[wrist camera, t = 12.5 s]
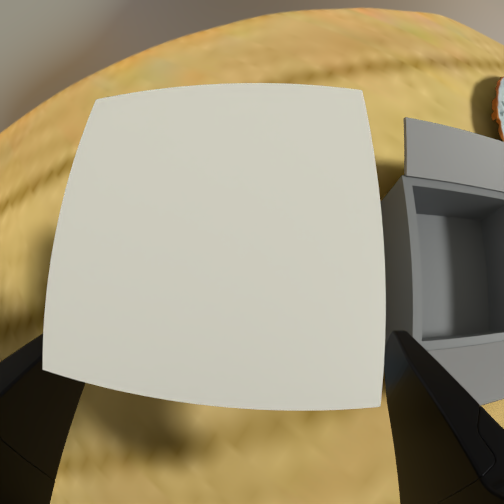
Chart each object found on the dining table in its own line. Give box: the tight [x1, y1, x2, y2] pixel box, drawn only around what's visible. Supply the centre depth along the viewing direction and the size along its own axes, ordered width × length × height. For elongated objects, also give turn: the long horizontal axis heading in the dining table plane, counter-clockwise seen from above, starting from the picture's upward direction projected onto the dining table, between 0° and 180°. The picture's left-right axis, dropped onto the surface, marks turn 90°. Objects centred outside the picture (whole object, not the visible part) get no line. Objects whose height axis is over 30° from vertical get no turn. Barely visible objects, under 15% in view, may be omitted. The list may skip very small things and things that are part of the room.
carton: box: [380, 117, 504, 406], centre depth 13 cm, size 14×8×5 cm, turn 177°
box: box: [43, 83, 386, 410], centre depth 10 cm, size 5×5×12 cm
